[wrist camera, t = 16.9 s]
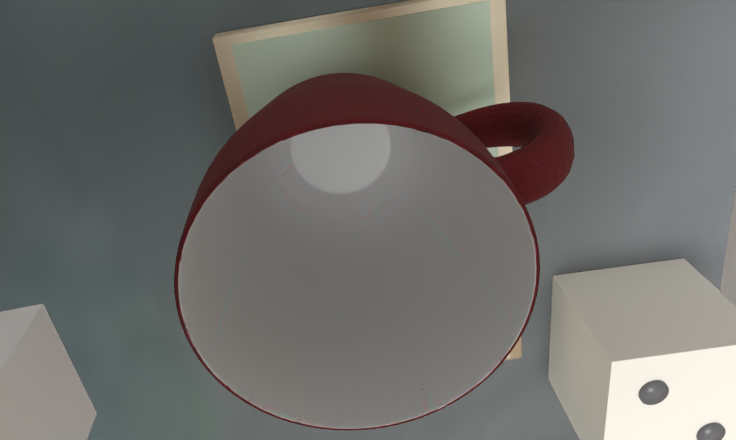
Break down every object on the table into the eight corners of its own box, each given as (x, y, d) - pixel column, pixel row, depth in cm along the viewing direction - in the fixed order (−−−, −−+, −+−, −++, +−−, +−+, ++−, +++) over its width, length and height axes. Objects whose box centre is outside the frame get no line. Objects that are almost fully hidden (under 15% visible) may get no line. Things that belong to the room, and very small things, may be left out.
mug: (464, -49, 20) (594, -22, 11) (540, 159, 23) (685, 309, 14) (183, 96, 21) (90, 227, 12) (295, 272, 24) (288, 476, 15)
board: (305, 380, 28) (305, 398, 27) (216, 33, 21) (211, 39, 20) (515, 343, 29) (523, 360, 27) (496, -15, 21) (506, -12, 20)
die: (547, 378, 30) (601, 480, 24) (552, 274, 27) (613, 364, 22) (666, 361, 30) (746, 459, 25) (682, 257, 27) (776, 341, 22)
